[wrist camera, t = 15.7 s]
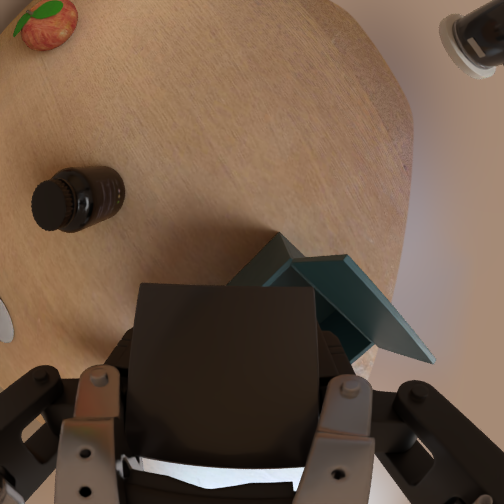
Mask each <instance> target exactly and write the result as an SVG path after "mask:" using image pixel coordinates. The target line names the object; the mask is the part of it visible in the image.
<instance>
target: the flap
mask: <svg viewBox="0 0 504 504" xmlns="http://www.w3.org/2000/svg"><path fill="white" fill-rule="evenodd" d="M291 263H292V264H293V265H294V266H295V267H296V268H297V269H298V270H299V271H300V272H301V273H302V274H303V275H304V276H305V277H306V278H307V279H308V280H309V281H311V282H312V283H313V284H314V285H315V286H316V287H317V288H318V289H319V290H320V291H321V292H322V293H323V294H324V295H325V296H326V297H327V298H328V299H329V300H330V301H331V302H332V303H333V304H334V305H336V306H337V307H338V308H339V309H340V310H341V311H342V312H343V313H344V314H345V315H346V316H347V317H348V318H349V319H350V320H351V321H352V322H353V323H354V324H355V325H356V326H357V327H358V328H359V329H360V330H361V331H362V332H363V333H364V334H365V335H366V336H367V337H368V338H369V339H370V340H371V341H372V342H373V343H374V344H376V345H377V346H378V347H379V348H382V349H385V350H388V351H391V352H394V353H397V354H401V355H404V356H407V357H410V358H414V359H417V360H420V361H424V362H427V363H430V364H434V363H435V361H436V359H435V357H434V356H433V355H432V353H431V352H430V351H429V349H428V348H427V347H426V346H425V345H424V343H423V342H422V341H421V339H420V338H419V337H418V336H417V334H416V333H415V332H414V331H413V329H412V328H411V327H410V326H409V324H408V323H407V322H406V321H405V320H404V318H403V317H402V316H401V315H400V314H399V313H398V311H397V310H396V309H395V308H394V306H393V305H392V304H391V303H390V302H389V301H388V299H387V298H386V297H385V296H384V295H383V294H382V292H381V291H380V290H379V289H378V288H377V287H376V285H375V284H374V283H373V282H372V281H371V280H370V279H369V278H368V276H367V275H366V274H365V273H364V272H363V271H362V270H361V269H360V268H359V266H358V265H357V264H356V263H355V262H354V261H353V260H352V259H351V258H350V257H349V255H348V254H343V255H331V256H318V257H305V258H294V259H293V260H292V262H291Z"/></svg>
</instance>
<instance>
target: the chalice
mask: <svg viewBox="0 0 504 504" xmlns="http://www.w3.org/2000/svg"><path fill="white" fill-rule="evenodd" d="M13 336H14V330H13V325H12V321H11V318H10V316H9V313H8V311H7V309H6V307H5V305H4V304H3V302H2V301H1V299H0V341H2V342H4V343H9V342H11V341H12V339H13Z"/></svg>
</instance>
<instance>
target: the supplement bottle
mask: <svg viewBox="0 0 504 504" xmlns="http://www.w3.org/2000/svg"><path fill="white" fill-rule="evenodd" d="M124 198H125V186H124V183H123V180H122V178H121V176H120V175H119V174H118V173H117V172H116V171H115V170H114V169H112V168H110V167H106V166H89V167H71V168H65V169H62V170H60V171H58V172H57V173H56V174H55V175H54V176H53V177H52V178H51V179H50V180H46V181H44V182H41V183H40V185H38V186H37V188H36V189H35V191H34V192H33V196H32V201H31V203H32V205H31V207H32V213H33V217H34V219H35V221H36V223H37V224H38V225H39V227H41V228H42V229H44V230H46V231H47V230H48V231H54V230H57V229H59V230H61V231H63V232H66V233H75V232H78V231H81V230H83V229H85V228H88V227H90V226H92V225H95V224H97V223H99V222H102V221H104V220H107V219H109V218H111V217H113V216H114V215H115V214H116V213H117V212H118V211H119V210H120V209H121V207H122V205H123V202H124Z"/></svg>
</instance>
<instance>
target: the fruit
mask: <svg viewBox="0 0 504 504" xmlns="http://www.w3.org/2000/svg"><path fill="white" fill-rule="evenodd" d="M77 21H78V12H77V10H76V8H75V6H74V4H73V3H72V2H70V1H69V0H43V1H41V2H39V3H38V4H36V5H35V6H34V7H32V8H31V9H30V10H27V11H26V14H24V15H23V16H22V17H21V18H20V20H19V21H18V23H17V25H16V28H15V30H14V33H13V37H15V36H16V35H17V34H18V33H19V32H20V30H21V36H22V39H23V41H24V42H25V43H26V45H27V46H28V47H29V48H31V49H33V50H37V51H45V50H51V49H53V48H56V47H58V46H60V45H61V44H63V43H64V42H65V41H66V40H67V39H68V38H69V37H70V36H71V35H72V33H73V31H74V30H75V28H76V25H77Z"/></svg>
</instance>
